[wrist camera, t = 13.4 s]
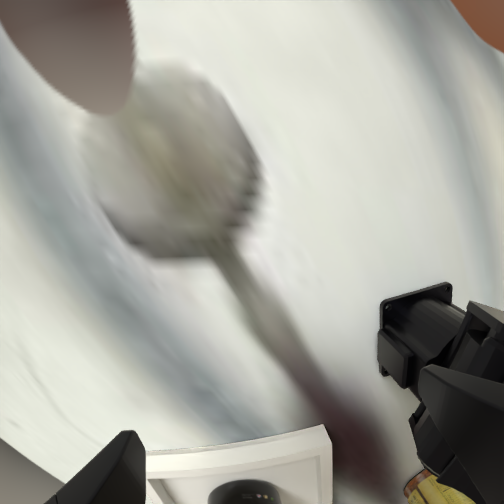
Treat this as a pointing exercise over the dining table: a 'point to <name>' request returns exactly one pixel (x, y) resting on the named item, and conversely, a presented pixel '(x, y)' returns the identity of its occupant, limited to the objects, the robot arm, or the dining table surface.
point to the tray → (245, 468)
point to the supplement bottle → (244, 493)
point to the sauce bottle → (432, 491)
